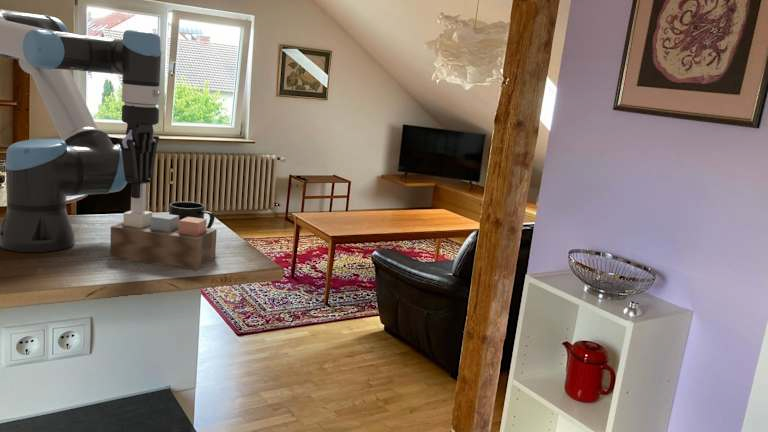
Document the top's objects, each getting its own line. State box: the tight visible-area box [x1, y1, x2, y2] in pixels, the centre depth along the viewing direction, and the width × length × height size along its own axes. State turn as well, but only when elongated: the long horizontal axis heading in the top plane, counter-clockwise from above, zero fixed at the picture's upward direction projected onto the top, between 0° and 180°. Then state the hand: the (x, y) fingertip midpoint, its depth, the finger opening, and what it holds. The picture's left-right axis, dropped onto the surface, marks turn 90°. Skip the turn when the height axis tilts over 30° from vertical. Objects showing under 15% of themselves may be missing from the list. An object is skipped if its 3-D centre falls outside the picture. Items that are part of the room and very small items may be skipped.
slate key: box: [151, 212, 179, 232], centre depth 142 cm, size 4×4×7 cm
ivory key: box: [122, 210, 153, 228], centre depth 142 cm, size 4×4×7 cm
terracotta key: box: [179, 217, 208, 236], centre depth 141 cm, size 4×4×7 cm
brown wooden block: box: [109, 221, 217, 271], centre depth 142 cm, size 20×10×7 cm, turn 82°
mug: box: [168, 201, 216, 229], centre depth 155 cm, size 8×12×10 cm
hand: (138, 211), depth 142 cm, fingers closed
